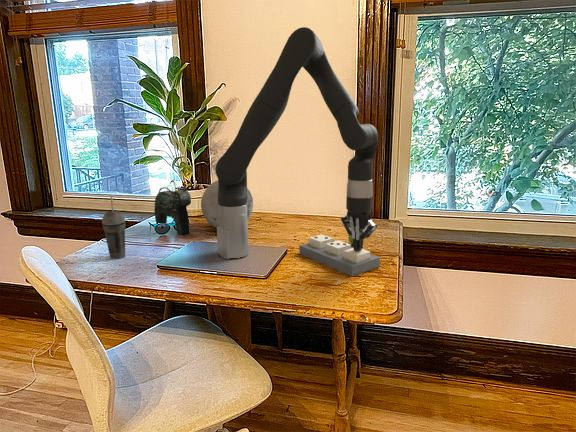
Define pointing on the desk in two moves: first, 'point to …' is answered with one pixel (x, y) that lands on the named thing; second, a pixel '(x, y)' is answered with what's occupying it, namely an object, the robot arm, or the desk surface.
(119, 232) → the beverage cup
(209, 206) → the moon model
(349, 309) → the desk surface
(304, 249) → the socket board
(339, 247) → the tile three dots
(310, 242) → the tile two dots
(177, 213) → the dark animal figurine
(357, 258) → the tile one dot
